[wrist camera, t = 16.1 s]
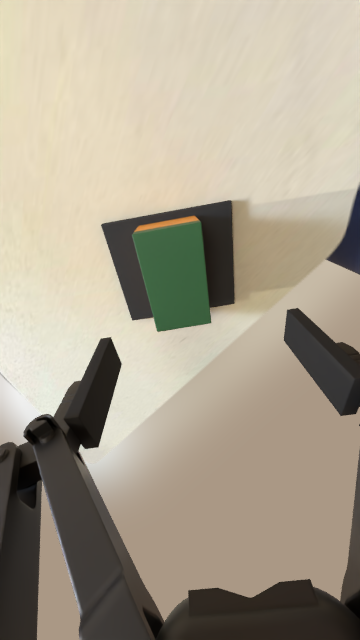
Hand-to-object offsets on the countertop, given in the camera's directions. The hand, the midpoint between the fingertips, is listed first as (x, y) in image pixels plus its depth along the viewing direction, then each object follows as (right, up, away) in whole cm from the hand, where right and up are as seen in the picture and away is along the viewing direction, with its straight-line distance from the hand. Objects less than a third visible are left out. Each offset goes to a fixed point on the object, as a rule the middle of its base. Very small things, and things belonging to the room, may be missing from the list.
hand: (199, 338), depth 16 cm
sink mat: (-2, +9, +14) cm, 17 cm away
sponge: (-2, +9, +13) cm, 16 cm away
